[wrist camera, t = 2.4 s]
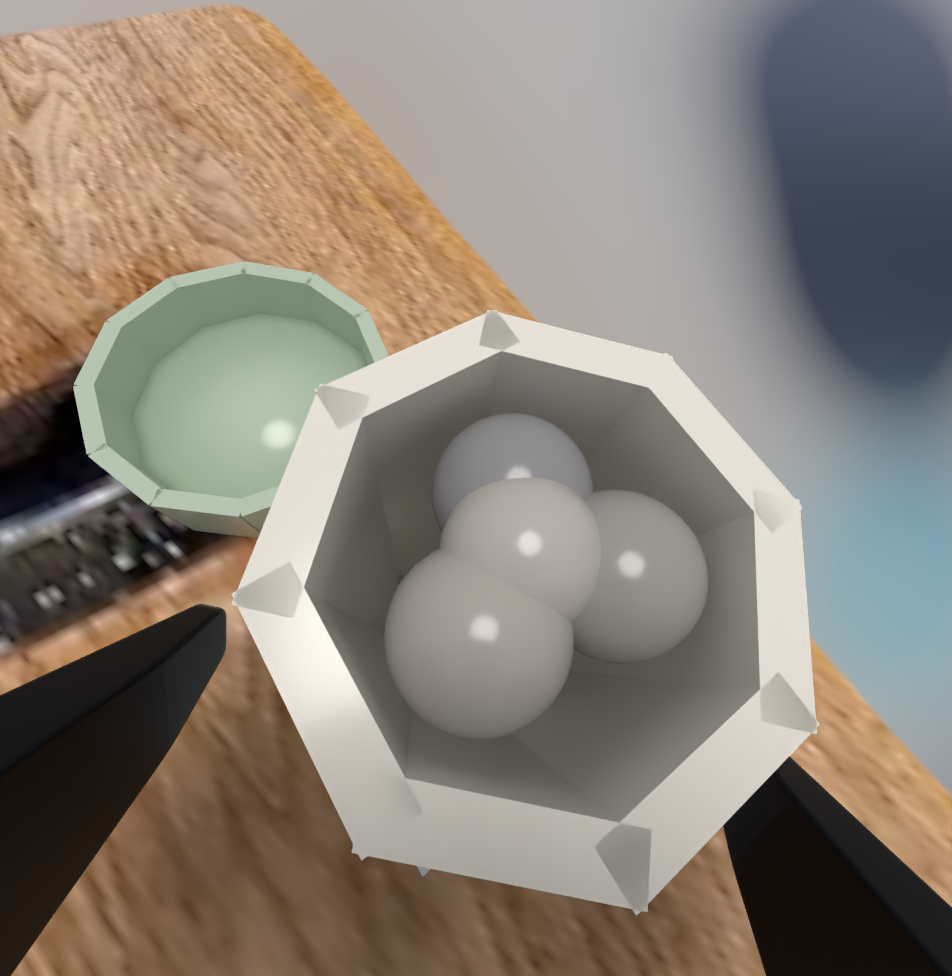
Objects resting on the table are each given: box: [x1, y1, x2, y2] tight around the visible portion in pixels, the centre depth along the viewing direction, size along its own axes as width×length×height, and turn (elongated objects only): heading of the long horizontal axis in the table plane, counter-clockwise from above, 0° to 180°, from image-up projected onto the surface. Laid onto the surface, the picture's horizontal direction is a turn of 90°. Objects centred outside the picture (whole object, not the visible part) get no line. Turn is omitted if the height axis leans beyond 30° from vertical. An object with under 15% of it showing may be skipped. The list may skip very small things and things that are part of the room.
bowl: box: [73, 262, 389, 538], centre depth 17 cm, size 10×10×3 cm
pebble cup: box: [232, 309, 820, 916], centre depth 10 cm, size 6×6×12 cm
